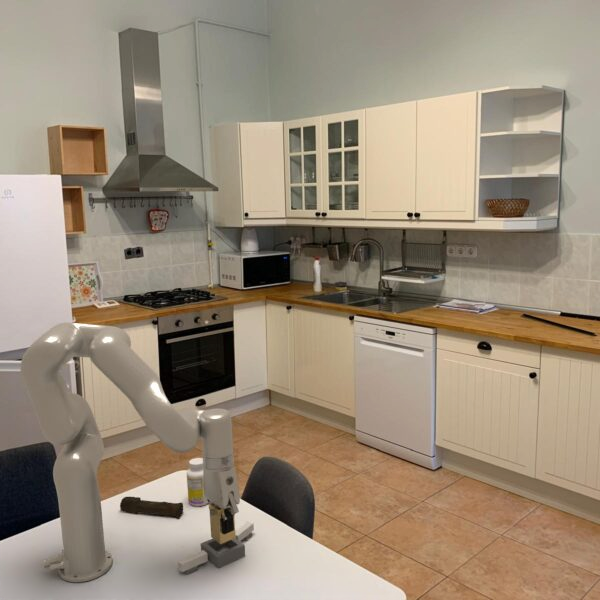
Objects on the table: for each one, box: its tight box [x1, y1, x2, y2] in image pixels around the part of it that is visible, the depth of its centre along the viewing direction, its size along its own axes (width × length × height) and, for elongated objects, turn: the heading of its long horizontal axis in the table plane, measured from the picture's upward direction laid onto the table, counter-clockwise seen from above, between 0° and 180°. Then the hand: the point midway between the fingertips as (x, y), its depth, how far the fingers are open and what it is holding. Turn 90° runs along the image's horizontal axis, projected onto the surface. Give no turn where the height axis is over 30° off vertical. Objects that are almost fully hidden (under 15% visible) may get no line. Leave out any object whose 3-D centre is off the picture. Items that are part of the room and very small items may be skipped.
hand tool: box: [119, 496, 184, 519], centre depth 181 cm, size 19×4×5 cm, turn 75°
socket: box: [177, 521, 255, 575], centre depth 159 cm, size 9×24×3 cm, turn 129°
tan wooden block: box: [208, 503, 236, 544], centre depth 158 cm, size 4×6×9 cm
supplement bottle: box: [186, 457, 209, 507], centre depth 186 cm, size 7×7×13 cm
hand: (222, 527), depth 158 cm, fingers closed on tan wooden block, 4 cm apart
